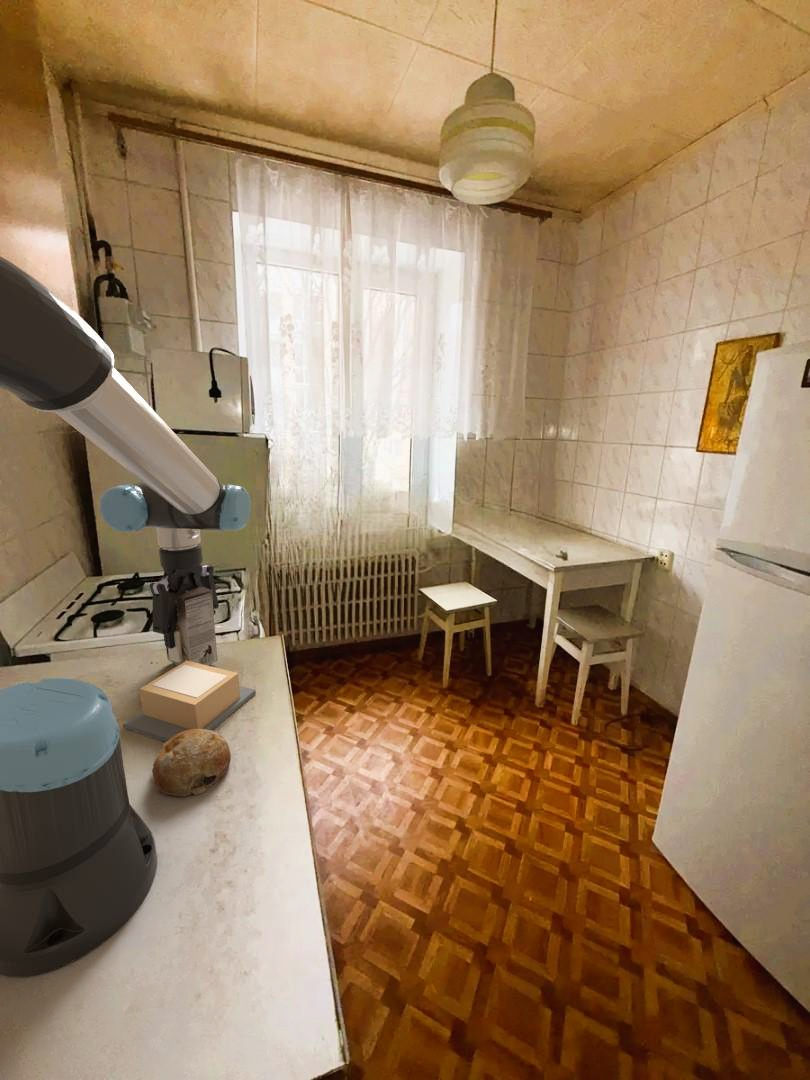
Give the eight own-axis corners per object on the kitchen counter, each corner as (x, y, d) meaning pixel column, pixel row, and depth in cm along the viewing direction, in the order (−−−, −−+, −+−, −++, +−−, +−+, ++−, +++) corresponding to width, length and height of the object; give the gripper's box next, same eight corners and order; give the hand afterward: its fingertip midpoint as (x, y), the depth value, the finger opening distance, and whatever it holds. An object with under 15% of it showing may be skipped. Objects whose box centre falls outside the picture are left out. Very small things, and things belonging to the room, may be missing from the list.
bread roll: (171, 827, 60) (177, 796, 56) (136, 767, 64) (140, 735, 60) (237, 782, 67) (246, 752, 63) (202, 732, 72) (209, 701, 68)
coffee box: (166, 660, 92) (156, 588, 88) (195, 648, 97) (187, 579, 94) (190, 674, 87) (181, 598, 83) (219, 661, 92) (212, 588, 89)
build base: (188, 749, 69) (184, 716, 67) (123, 727, 73) (118, 696, 72) (255, 693, 83) (253, 665, 82) (197, 678, 88) (194, 651, 86)
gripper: (149, 561, 76) (164, 679, 81) (231, 536, 94) (239, 634, 100) (118, 556, 78) (134, 671, 84) (204, 533, 97) (213, 629, 102)
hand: (191, 651), depth 92 cm, fingers closed on coffee box, 7 cm apart
